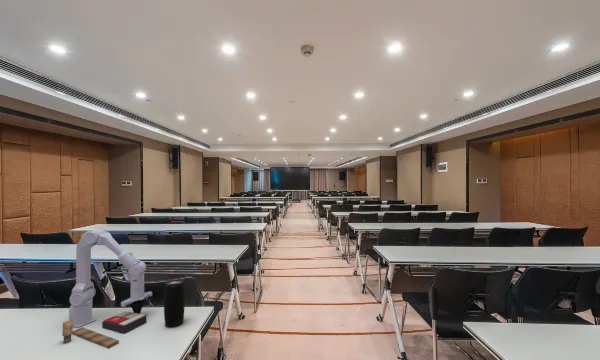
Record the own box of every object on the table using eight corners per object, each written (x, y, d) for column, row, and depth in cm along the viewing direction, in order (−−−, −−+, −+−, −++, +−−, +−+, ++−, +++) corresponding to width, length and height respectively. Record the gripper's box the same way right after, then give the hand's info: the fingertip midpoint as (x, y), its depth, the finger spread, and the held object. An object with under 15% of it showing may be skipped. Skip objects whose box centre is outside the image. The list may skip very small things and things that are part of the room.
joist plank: (72, 334, 119) (72, 331, 119) (82, 329, 123) (82, 327, 123) (108, 348, 108) (108, 345, 108) (118, 343, 112) (118, 340, 112)
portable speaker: (185, 317, 134) (185, 277, 134) (183, 327, 125) (183, 283, 125) (165, 320, 131) (166, 279, 132) (162, 330, 122) (162, 285, 123)
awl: (60, 342, 113) (60, 322, 113) (69, 338, 115) (70, 319, 116) (64, 344, 111) (65, 324, 111) (74, 340, 114) (74, 321, 114)
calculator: (125, 310, 135) (146, 313, 129) (125, 319, 135) (147, 322, 129) (101, 320, 125) (124, 324, 119) (101, 330, 125) (124, 334, 119)
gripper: (128, 294, 126) (127, 324, 125) (156, 284, 139) (156, 311, 138) (118, 291, 128) (117, 321, 128) (146, 282, 142) (146, 308, 141)
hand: (137, 316), depth 133 cm, fingers closed
